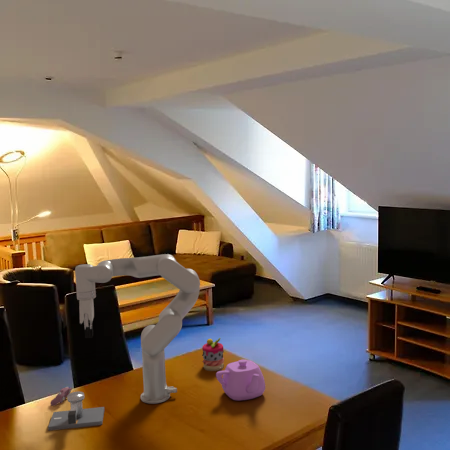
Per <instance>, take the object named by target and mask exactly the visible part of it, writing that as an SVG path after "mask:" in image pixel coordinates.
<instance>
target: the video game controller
mask: <svg viewBox="0 0 450 450" xmlns="http://www.w3.org/2000/svg"><path fill="white" fill-rule="evenodd" d="M70 393H72V388H71V387H70V386H66V387H63V388H61V389H60V391H58V393H57V395H56V396H55V397H54V398H53V399H52V400H51V401H50V406H52V407H54V406H57V405H58V404H62V403H63V402H64V401H65V400H67V396H68V394H70Z"/></svg>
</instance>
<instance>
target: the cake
mask: <svg viewBox="0 0 450 450" xmlns="http://www.w3.org/2000/svg"><path fill="white" fill-rule="evenodd" d="M220 341H221V337H219V338H218V339H216V340H215V341H214V340H213V339H212V338H208V339H207V340H206V343H205V344H203V345H202V358H203V361H201V362H202V363H203V369H204V371H208V372H216V371H217V372H218V371H222V370H223V368H224V362H225V358H224V353H225V352H224V345H223V344H222V343H220Z"/></svg>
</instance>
